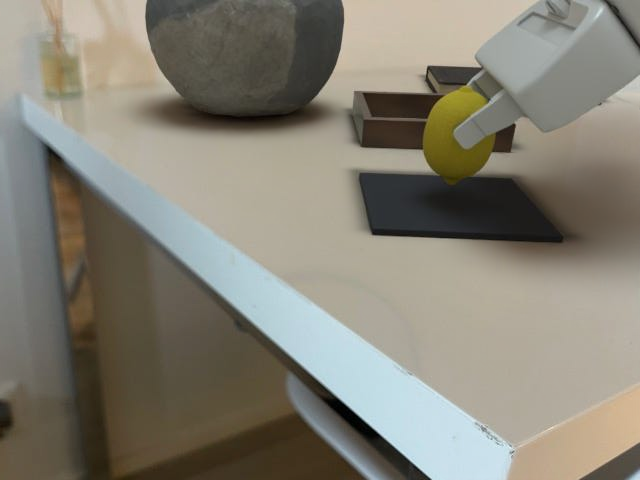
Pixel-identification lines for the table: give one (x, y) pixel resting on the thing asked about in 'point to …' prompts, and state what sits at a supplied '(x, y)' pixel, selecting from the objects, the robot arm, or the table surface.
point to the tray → (403, 120)
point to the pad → (453, 208)
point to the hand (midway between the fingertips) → (452, 130)
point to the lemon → (443, 146)
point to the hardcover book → (450, 77)
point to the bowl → (246, 51)
